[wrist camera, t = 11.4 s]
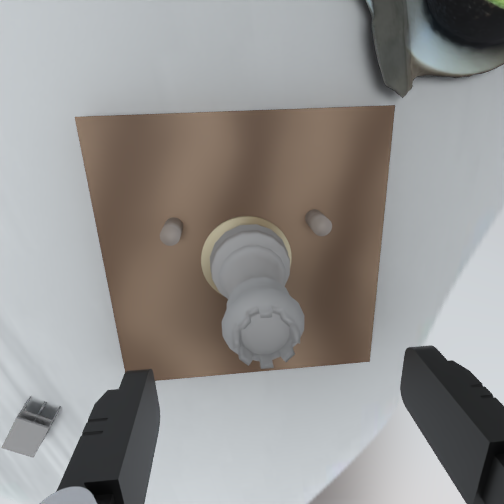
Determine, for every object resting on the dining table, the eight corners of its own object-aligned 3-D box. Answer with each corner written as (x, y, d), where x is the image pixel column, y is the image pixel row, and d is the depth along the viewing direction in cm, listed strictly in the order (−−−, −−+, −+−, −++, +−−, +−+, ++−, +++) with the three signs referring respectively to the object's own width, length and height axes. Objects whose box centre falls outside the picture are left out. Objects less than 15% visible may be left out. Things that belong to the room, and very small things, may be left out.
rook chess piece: (240, 307, 21) (252, 408, 14) (193, 252, 20) (178, 332, 13) (301, 265, 21) (348, 347, 13) (258, 205, 19) (283, 260, 12)
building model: (16, 423, 25) (0, 448, 23) (31, 393, 25) (15, 416, 23) (46, 433, 26) (33, 458, 24) (62, 404, 25) (49, 427, 23)
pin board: (382, 106, 20) (412, 104, 17) (361, 348, 25) (380, 379, 22) (85, 117, 19) (59, 116, 16) (132, 367, 24) (120, 404, 21)
